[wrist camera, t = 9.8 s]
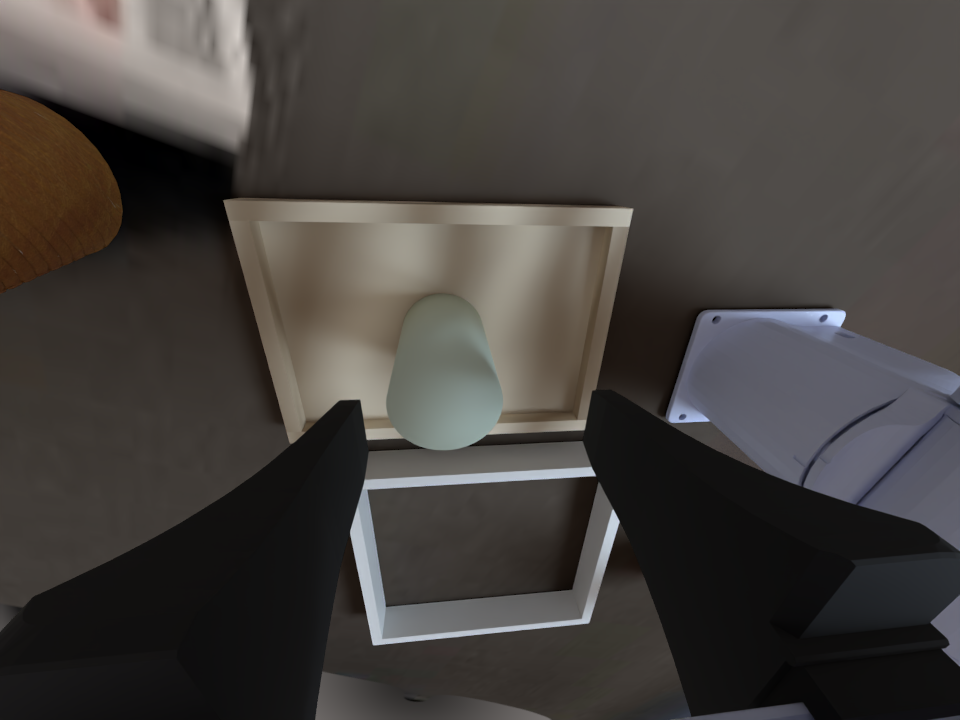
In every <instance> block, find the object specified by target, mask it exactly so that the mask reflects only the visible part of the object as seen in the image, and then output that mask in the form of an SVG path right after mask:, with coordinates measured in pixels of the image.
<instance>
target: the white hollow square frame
mask: <svg viewBox="0 0 960 720" xmlns="http://www.w3.org/2000/svg"><path fill="white" fill-rule="evenodd" d="M587 476H596V475H595V473H594V471H593V469H592V466H591V464H590V461H589V458H588V456H587V453H586V450H585V447H584V444H583V441H574V442H553V443H533V444H512V445H491V446H470V447H463V448H459V449H454V450H432V449H408V450H387V451H369V454H368V461H367V468H366V474H365V480H364V485H363V489H362V492H361V496H360V499H359V503H358V506H357V510H356V513H355V517H354V520H353V523H352V527H351V530H350V535H351V540H352V545H353V550H354V555H355V559H356V564H357V569H358V574H359V579H360V584H361V589H362V593H363V598H364V603H365V608H366V613H367V618H368V623H369V627H370V632H371V637H372V642H373V645H381V644H391V643H401V642H410V641H420V640H430V639H440V638H450V637H459V636H469V635H479V634H489V633H498V632H508V631H518V630H528V629H537V628H547V627H557V626H567V625H576V624H586V623H589V622H590V618H591V615H592V612H593V608H594V605H595V602H596V598H597V595H598V592H599V588H600V585H601V582H602V578H603V575H604V572H605V568H606V565H607V562H608V558H609V555H610V552H611V548H612V545H613V542H614V539H615V535H616V532H617V529H618V525H619V522H620V521H619V519H618V517H617V515H616V514H615V512H614V510H613V508H612V506H611V504H610V502H609V500H608V498H607V496H606V494H605V493H604V491H603V489H602V487H601V485H600V483H599V482H598V487H597V491H596V495H595V499H594V503H593V507H592V511H591V515H590V519H589V523H588V528H587V532H586V536H585V540H584V544H583V548H582V552H581V556H580V560H579V564H578V569H577V573H576V577H575V581H574V585H573V589H572V590H565V591H554V592H543V593H532V594H521V595H511V596H500V597H489V598H478V599H467V600H456V601H445V602H435V603H424V604H413V605H402V606H391V607H386V605H385V598H384V592H383V586H382V580H381V573H380V567H379V561H378V555H377V548H376V542H375V536H374V530H373V523H372V517H371V511H370V505H369V498H368V492H367V489H383V488H400V487H417V486H434V485H451V484H468V483H485V482H502V481H519V480H536V479H553V478H570V477H587Z"/></svg>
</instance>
